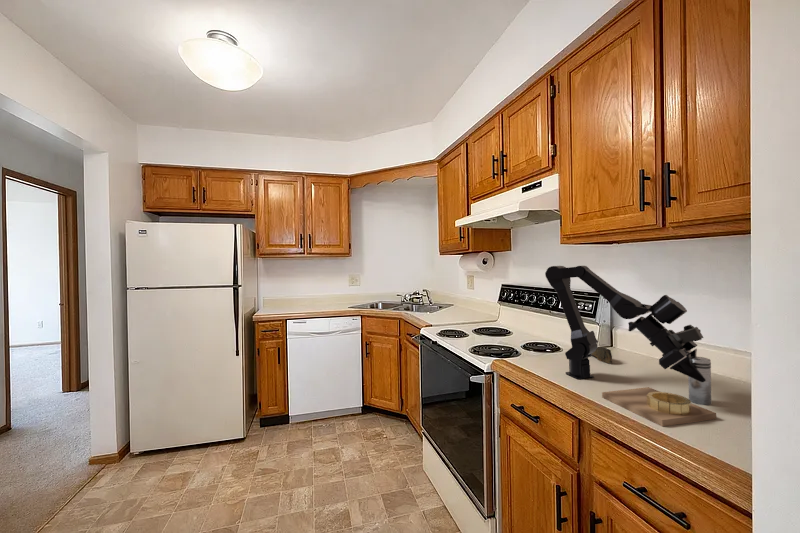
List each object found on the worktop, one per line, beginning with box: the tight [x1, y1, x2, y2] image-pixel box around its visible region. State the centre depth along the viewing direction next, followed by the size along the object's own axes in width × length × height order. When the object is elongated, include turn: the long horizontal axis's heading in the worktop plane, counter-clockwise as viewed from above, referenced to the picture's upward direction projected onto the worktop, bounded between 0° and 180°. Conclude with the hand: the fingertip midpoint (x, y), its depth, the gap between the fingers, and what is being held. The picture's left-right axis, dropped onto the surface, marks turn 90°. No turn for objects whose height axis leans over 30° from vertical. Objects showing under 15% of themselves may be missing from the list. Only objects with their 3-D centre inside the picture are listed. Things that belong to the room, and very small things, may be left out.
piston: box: [687, 355, 712, 406], centre depth 98 cm, size 5×5×12 cm
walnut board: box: [601, 386, 717, 427], centre depth 95 cm, size 19×16×2 cm
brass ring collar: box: [647, 391, 692, 415], centre depth 92 cm, size 9×9×2 cm
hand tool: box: [591, 346, 613, 364], centre depth 146 cm, size 23×5×6 cm, turn 178°
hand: (706, 379), depth 97 cm, fingers closed on piston, 5 cm apart
